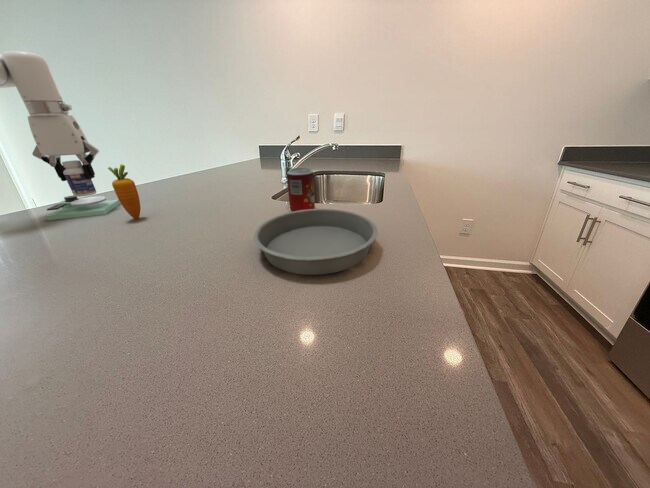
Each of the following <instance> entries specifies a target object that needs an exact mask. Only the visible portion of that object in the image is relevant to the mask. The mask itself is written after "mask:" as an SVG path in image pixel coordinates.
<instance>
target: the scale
mask: <svg viewBox="0 0 650 488" xmlns="http://www.w3.org/2000/svg"><path fill="white" fill-rule="evenodd" d="M77 198H78V200H79V199H83V198H84V197H77ZM64 203H67V205H66V206H64V207H62V208H60V209H58V210H54V211H52V212H51V213H49V214H47V215H45V217H46V219H47V220H48V221H54V220H63V219H73V218H82V217H83V218H84V217H91V216H101V215H107V214H108V213H109V212H111V211H112V210H113V209H115V208H116V207H118V206H119V205H120V204H121V203H120V201H119V199H118V198H117V199H109V200H108V199H106V200H105V201H103V202H100V203H97V204H92V205H86V206H72V205H71V202H66V201H65V199H64V200H61V201H59V203H58V204H64Z"/></svg>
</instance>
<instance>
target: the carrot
mask: <svg viewBox="0 0 650 488" xmlns="http://www.w3.org/2000/svg"><path fill="white" fill-rule="evenodd" d="M107 169H108V170H109V171H110V172H111V173H112V175H114V176H115V178H117V179H115V180H113V181H112V182H111V186H112V188H113V190H114V193H115V195H116V197H117V199H119V201H120V204H121V206H122V208H123V209H124V210H125V211H126V213H128V215H129V216H130V217H131V218H132V219H134V220H136V221H137V220H139V219H140V215H141V200H140V195H139V192H138V189H137V186H136V183H135V181H134V180H133V179H131V178H130V177H127V175H128V174H129V172H128V171H126V172H125V169H126V165H125V164H120V165H119V168H118V167H114V168H112V167H110V166H108V167H107Z"/></svg>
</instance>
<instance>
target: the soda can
mask: <svg viewBox="0 0 650 488" xmlns="http://www.w3.org/2000/svg"><path fill="white" fill-rule="evenodd" d="M286 178H287V179H286V180H287V192H288V193H287V194H288V203H289V209H290V212H294V211H299V210H308V209H316V208H315V207H316V203H315V202H316V201H315V185H314V184H315V180H314V171H313V170H312V169H311V168H309V167H294V168H293V167H292V168H290V169H289V170H288V171H287V172H286Z"/></svg>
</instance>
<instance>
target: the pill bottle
mask: <svg viewBox="0 0 650 488" xmlns="http://www.w3.org/2000/svg"><path fill="white" fill-rule="evenodd" d="M61 164H62V165H63V166H64V167H65V168H66V170H64V171H63V173H64V176H65V178H66V182H67V184H68V187H69V188H70V190H71V193H72V196H76V197H77V198H83V197H89V196H93V195H96V194H97V189H96V186H95V185H94V182H93V180H92V179H87V178H86V175H85V173H84V171H83V169H82V165H83V164H82V162H81V161H80V160H79V159H78V160H77V159H75V160H66V161H61Z"/></svg>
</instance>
